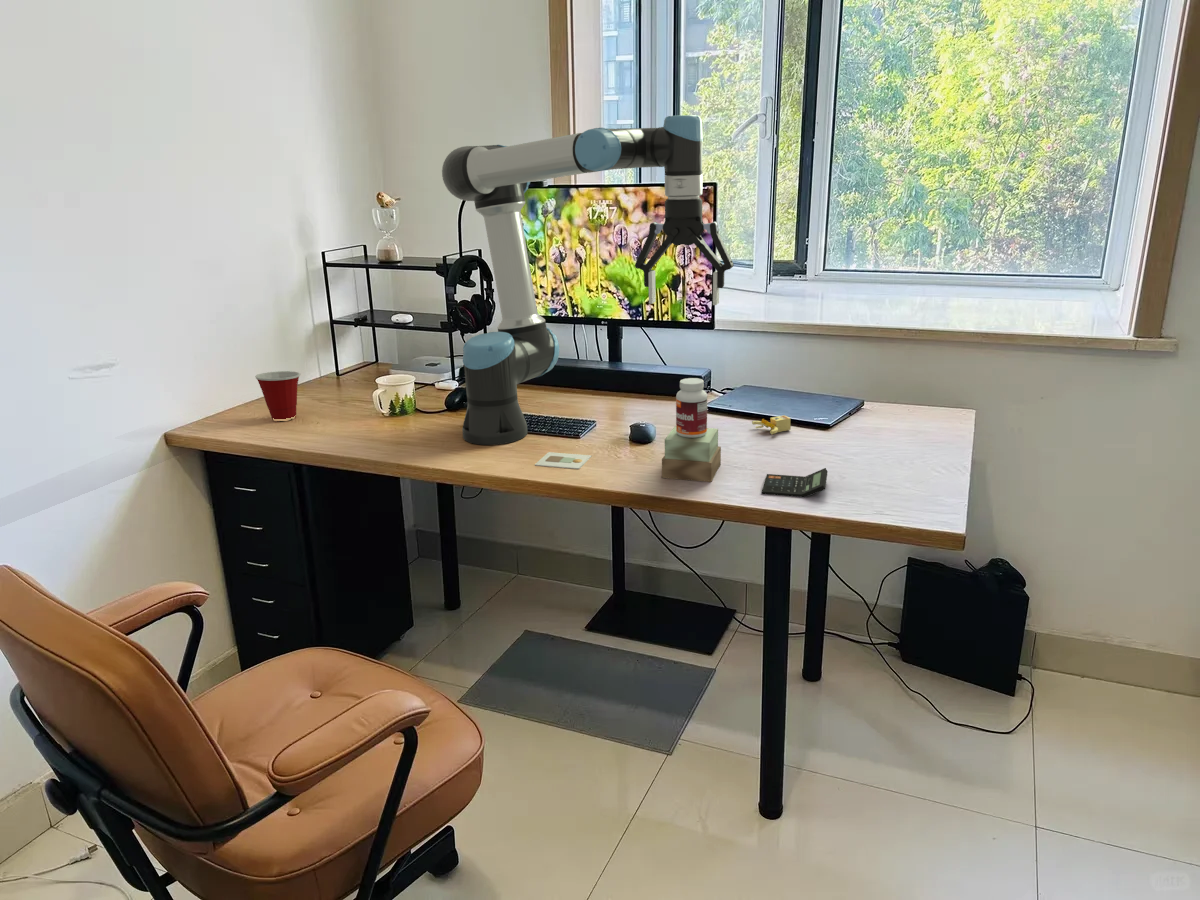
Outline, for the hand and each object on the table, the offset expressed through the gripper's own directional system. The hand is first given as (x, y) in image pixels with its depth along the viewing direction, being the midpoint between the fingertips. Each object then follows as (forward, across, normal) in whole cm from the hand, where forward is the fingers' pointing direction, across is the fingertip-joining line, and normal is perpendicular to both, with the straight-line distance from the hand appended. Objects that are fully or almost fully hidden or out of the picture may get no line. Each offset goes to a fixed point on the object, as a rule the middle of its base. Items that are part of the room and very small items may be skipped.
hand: (683, 303), depth 179 cm
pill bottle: (+24, +5, -15) cm, 28 cm away
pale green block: (+32, +5, -15) cm, 35 cm away
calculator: (+32, +26, -19) cm, 45 cm away
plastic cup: (+32, -105, -1) cm, 110 cm away
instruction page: (+32, -23, -15) cm, 42 cm away
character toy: (+32, +16, +15) cm, 39 cm away
